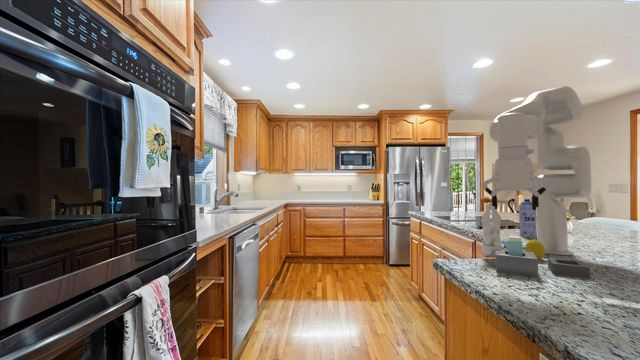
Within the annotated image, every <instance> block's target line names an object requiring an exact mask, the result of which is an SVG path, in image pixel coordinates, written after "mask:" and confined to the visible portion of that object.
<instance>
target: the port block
mask: <svg viewBox="0 0 640 360" xmlns="http://www.w3.org/2000/svg"><path fill="white" fill-rule="evenodd" d="M495 254H496V257H495V271H496V273H502V274H508V275H515V276H517V275H518V276H523V277H524V276H525V277H532V278H539V260H538V259H537V257H536V256H535V254H534V253H533V252H525V250H523V256H518V255H508V249H504V248H503V249H495Z"/></svg>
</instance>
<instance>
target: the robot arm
mask: <svg viewBox="0 0 640 360" xmlns="http://www.w3.org/2000/svg"><path fill="white" fill-rule="evenodd" d="M583 112H584V109H583V104H582V102H581V99H580V98H579V97H578V94H577V92H576V91H575V90H574V89H573V88H572V87H570V86H567V85H562V86H558V87H553V88H548V89H545V90H539V91H536V92H534V93H532V94H529V96H528V97H526V99H525V100H524V101H523V102H522V104H520V105H518V106H516V107H513V108H511V109H510V110H507V111H505V112H503V113H501V114H500V115H498V116H496V118H495V119H493V121H492V122H491V124H490V127H489V137H490V138H491V140H492V141H494V142H496V143H497V152H498V153H497V156H498V157H497V159H495V161H494V167H493V168H494V169H493V177H491V178H489V179H487V180H485V181H483V182H481V186H482V188H483V190H484V191H485V192H486V193H487V194H488V195H489V196H491V204H492V206H495V209H496V210H498V196H497V194H498V193H499V192H501V191H528V192H529V193H530V194H532V196H531V198H530V200H531V202H532V209H533V210H536V221H537V237H536V240H537V241H540V242H541V243H542V244H543V246H544V248H545V254H548V255H557V256H571V255H574V251H573V250H572V249H569V240H568V239H569V238H568V210H567V208H566V205H565V204H564V203H563V202H562V201H560V200H559V199H565V198H567V199H581V198H582V199H584V198H587V197H589V196H590V195H591V192H592V169H591V163H592V162H591V155H590V151H589V149H588V148H587V146H584V145H569V146H565V142H564V137H565V136H564V133H563V132H561V130H559V129H558V128H557V127H555V126H554V125H558V124H565V123H566V124H567V123H573V122H577V121H579V120H580V119H581V118H582V116H583ZM534 138H535V139H536V155H537V158H536V159H537V161H536V162H537V167H538V168H539V170H541V171H543V172H553V171H554V172H555V171H556V172H557V171H559V172H560V171H572V172H574V173H547V174H540V175H538V176H535V173H534V167H533V161H532V158H531V157H529V155H531V154H534V151H535V150H534V148H530V147H528V140H530V139H534ZM491 183H493V186H494V189H493V190H491V189H490V188H489V187H488V185H489V184H491Z"/></svg>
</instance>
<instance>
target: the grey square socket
mask: <svg viewBox="0 0 640 360" xmlns="http://www.w3.org/2000/svg"><path fill="white" fill-rule="evenodd" d="M547 268H548V269H549V271H550V272H551V274H552V275H556V276H557V275H558V276H566V277H574V278H582V279H589V280H590V279H591V269H590V268H591V267H589V266H588V265H587V264H586V263H585V262H583V261H582V260H576V259H575V260H574V259H564V258H555V257H547Z"/></svg>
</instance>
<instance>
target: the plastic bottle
mask: <svg viewBox="0 0 640 360" xmlns="http://www.w3.org/2000/svg"><path fill="white" fill-rule="evenodd" d="M484 209H485V211H484V212H483V214H482V215H481V224H482V232H483V239H482V245H481V246H482V247H481V253H482V255H483V256H484V258H488V259H489V258H496V254H495V249H502V246H501V234H500V233H501V224H502V217H501V215H500V214H499V212H498V211H497V209H495V206H492V203H485V206H484Z"/></svg>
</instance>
